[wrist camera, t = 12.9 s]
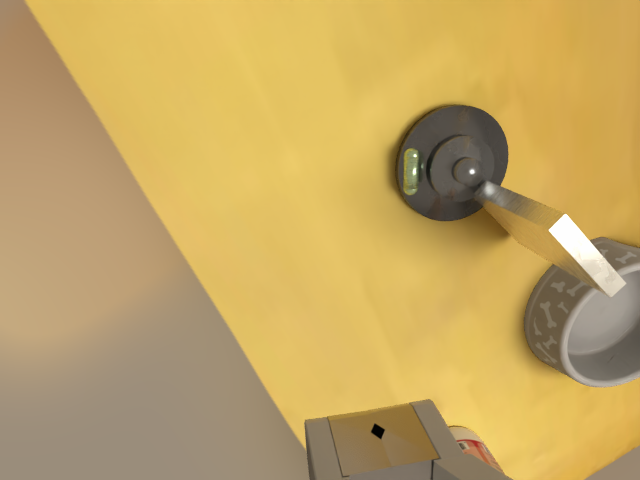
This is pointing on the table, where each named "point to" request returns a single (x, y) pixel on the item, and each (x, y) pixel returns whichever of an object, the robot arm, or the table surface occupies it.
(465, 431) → the white plastic bottle
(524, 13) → the table surface
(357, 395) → the table surface
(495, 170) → the base
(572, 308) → the dog bowl
